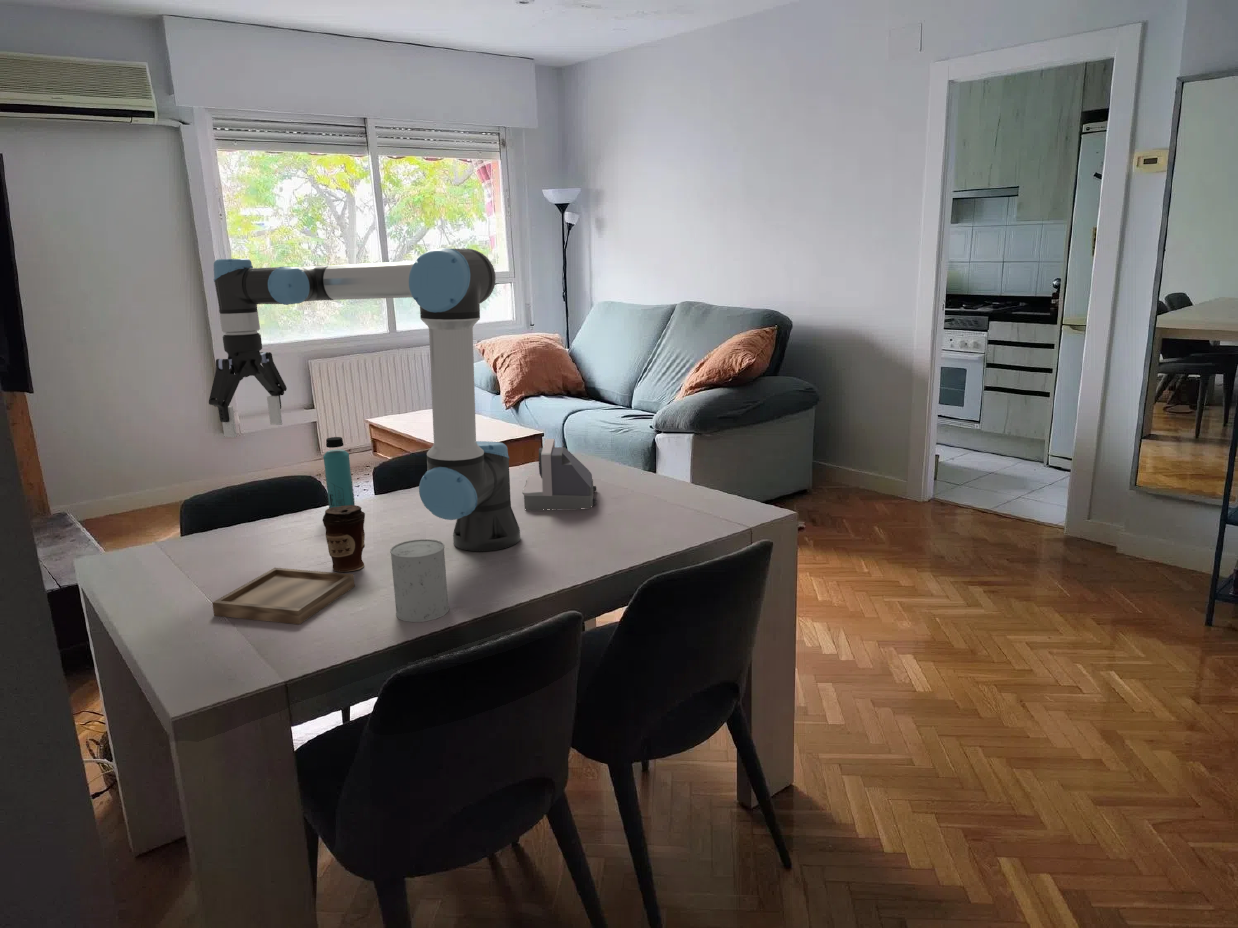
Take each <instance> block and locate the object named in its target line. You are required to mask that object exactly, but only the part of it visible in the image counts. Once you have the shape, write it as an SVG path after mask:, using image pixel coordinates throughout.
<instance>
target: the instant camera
mask: <svg viewBox="0 0 1238 928" xmlns="http://www.w3.org/2000/svg"><path fill="white" fill-rule="evenodd" d="M596 491H597V485H594V479H593V474H592V472H591V471H590V470H589V469H588V468H587V467H586V466H585V465H584V464H583V463H582V462H581V461H580V460H579V459H578V458H577V457H576V456H575V455H574V454H573V453H572V452H571V451H570V450H569V449H567V448H566V447H564V446H562V447H560V446H559V447H558V446H556V440H555V438H545V440H544V443H543V447H539V449H538V473H533V474H529V475H528V476H527V477H526V480H525V485H524V487H523V490H522V496H523V499H524V500H523V503H524V504H523V505H524V510H525V509H526V510H542V511H548V510H547V509H550V510H549V511H553V510H552V509H556V510H555V511H558V510H557V509H581V508H590V507H591V506H593V507H594V505H596V504H597V498H594V492H596ZM543 509H544V510H543ZM526 510H525V511H526Z"/></svg>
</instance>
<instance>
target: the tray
mask: <svg viewBox="0 0 1238 928" xmlns="http://www.w3.org/2000/svg"><path fill="white" fill-rule="evenodd" d="M354 575H355V574H353V573H346V572H333V571H331V572H330V571H319V570H306V569H297V568H296V569H295V568H284V567H283V568H282V567H274V568H271V569H269V570H268V571H266V572H264V573H263V574H261V575H259V576H258V577H255V578H254V579H251V580H250V581H248V582H246V583H244V584H243V585H241V586H239V587H238V588H236V589H234V590H232V591H230V592H228V593H226V594H225V595H223V596H221V597H220V598H218V599H215V600H213V601H212V610H213V615H214V616H216V617H223V618H224V617H225V618H234V619H241V620H242V619H243V620H252V621H253V620H255V621H262V622H270V623H271V622H273V623H282V624H293V625H301V624H302V623H304V622H305V621H307V620H308V619H310V618H311V617H313V616H314V615H316V614H317V613H318V612H319V611H321V610H323V609H324V608H326V607H327V606H329V605H330V604H332V603H333V602H335V601H336V600H337V599H339V598H340V597H341V596H343V595H345V594H346V593H347V592H349V591H350V590H352V589H354V588H355V587H356V585H355V576H354Z"/></svg>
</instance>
